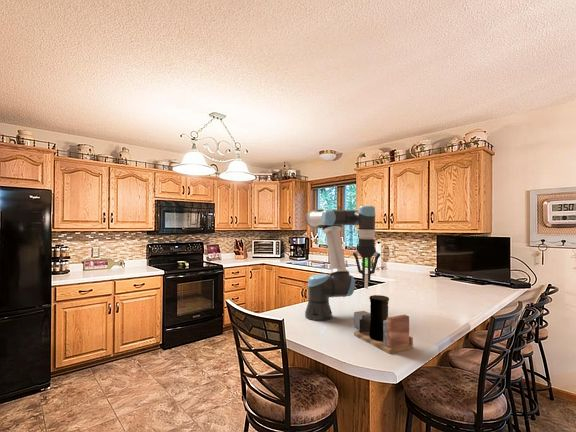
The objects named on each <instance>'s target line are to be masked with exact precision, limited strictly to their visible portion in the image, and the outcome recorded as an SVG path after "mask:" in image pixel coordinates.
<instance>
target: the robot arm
mask: <svg viewBox="0 0 576 432" xmlns="http://www.w3.org/2000/svg"><path fill="white" fill-rule="evenodd" d="M304 220H305V224H306V225H307V226H308V227H311V228H313V229H314V228H315V229H322V233H324V234H325V237H326V238H325V239H326V244H327V245H326V246H327V251H328V257H329V264H330V271H331V272H329V274H327V273H318V274H317V273H316V274H313V275H310V276H309V278H308V281H307V297H308V298H307V301H308V302H307V305H306V308H305V310H304V317H305V318H306V319H308V320H311V321H329V320H330V319H332V318H333V313H332V309H331V305H330V298H342V297H343V298H345V297H350V296H352V295H353V294H354V292H355V289H356V281H355V278H354V276H353V275H350V271H349V270H348V269H346V261H345V255H344V250H343V243H342V239H341V231H342V229H343V227H344V226H358V246H357V247H358V248H357V250H356V251H354V252H353V253H352V255H353V257H354V258H355V264H356V267H357V271H358V273H359V274H361V278H362V279H361V280H362V282H364V289H369V282H371V275H373V274H375V272H376V268H377V265H378V260H379V258H380V257H381V253H379V252H377V250H376V240H375V237H376V207H375V206H373V205H360V206H359V207H358V209H357V210H356V209H355V210H354V209H353V210H352V209H351V210H349V209H347V210H345V209H344V210H340V209H339V210H338V209H313V210H309V211H307V213H306V214H305V218H304ZM359 255H360V258H362V263H361V265H362V266H361V265H360V260H359V257H358V256H359ZM373 256H375V258H374V261H373V265H372V267H371V264H372V263H371V261H372V260H371V259H372V258H373ZM366 259H367V273H366ZM371 268H372V270H371Z"/></svg>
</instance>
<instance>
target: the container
mask: <svg viewBox="0 0 576 432" xmlns="http://www.w3.org/2000/svg"><path fill="white" fill-rule="evenodd" d="M368 299H369V302H370V304H369V305H370V306H369V307H370V309H369V310H370V312H369V313H370V331H369V332H370V333H369V337H370V338H371V339H373V340H377V341H384V338H383V321H384V320H387V318H388V317H389V301H390V298H389V297H388V296H385V295H383V294H382V295H381V294H380V295H379V294H377V295H376V294H375V295H370V296H369V297H368Z"/></svg>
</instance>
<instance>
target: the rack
mask: <svg viewBox="0 0 576 432" xmlns="http://www.w3.org/2000/svg"><path fill="white" fill-rule="evenodd" d="M369 333H370V332H369V331H366V332H361V333H359V330H357V331H354V332H353V336H354V337H357V338H358V339H360V340H363V341H364V342H366V343H367V344H369V345H372V346H374V347H375V348H378V349H379V350H381V351H383V352H385V353H386V354H389V355H391V354H395V353H399V352H400V353H401V352H403V351H407V350H413V349H414V336H413V337H412V336H410V316H409V315H407V314H400V315H395V316H388V318H387V320H384V321H383V338H384V341H377V340H373V339H371V338H370V337H369Z"/></svg>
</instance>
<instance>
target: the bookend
mask: <svg viewBox="0 0 576 432" xmlns="http://www.w3.org/2000/svg"><path fill="white" fill-rule="evenodd" d="M353 329H356V330H357V331H359V333H361V332H366V331H370V312H368V311H365V310H360V311H354V312H353Z"/></svg>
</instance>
